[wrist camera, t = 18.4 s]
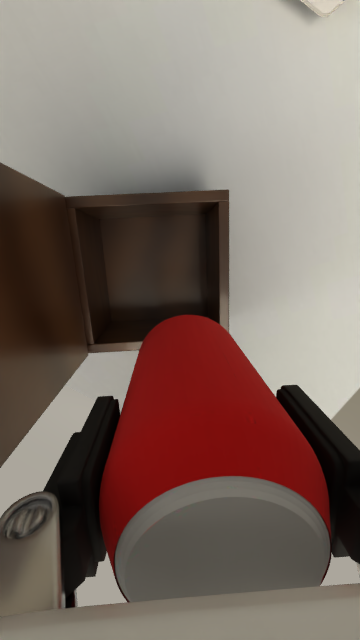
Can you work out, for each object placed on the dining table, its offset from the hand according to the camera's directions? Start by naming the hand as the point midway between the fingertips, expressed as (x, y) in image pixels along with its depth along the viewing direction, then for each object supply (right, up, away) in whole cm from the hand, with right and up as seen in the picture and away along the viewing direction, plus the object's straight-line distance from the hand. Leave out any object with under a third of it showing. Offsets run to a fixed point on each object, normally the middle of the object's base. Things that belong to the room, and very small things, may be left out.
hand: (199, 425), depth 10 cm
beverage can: (0, +2, +7) cm, 7 cm away
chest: (-4, +10, +22) cm, 24 cm away
